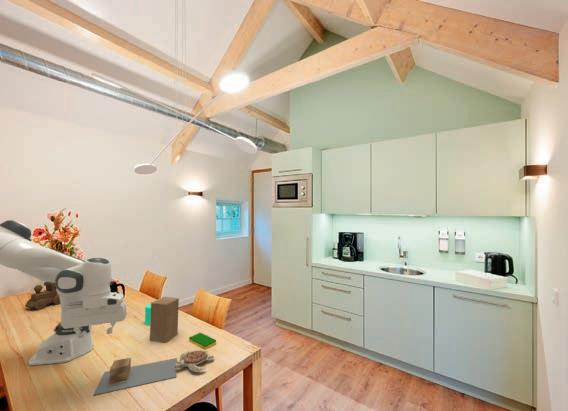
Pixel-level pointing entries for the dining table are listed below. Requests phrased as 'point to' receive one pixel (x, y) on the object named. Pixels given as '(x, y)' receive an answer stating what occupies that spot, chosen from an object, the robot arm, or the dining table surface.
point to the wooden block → (164, 319)
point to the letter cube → (120, 371)
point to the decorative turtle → (193, 360)
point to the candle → (147, 314)
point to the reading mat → (140, 376)
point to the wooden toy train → (43, 296)
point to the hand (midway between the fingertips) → (95, 335)
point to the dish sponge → (202, 341)
